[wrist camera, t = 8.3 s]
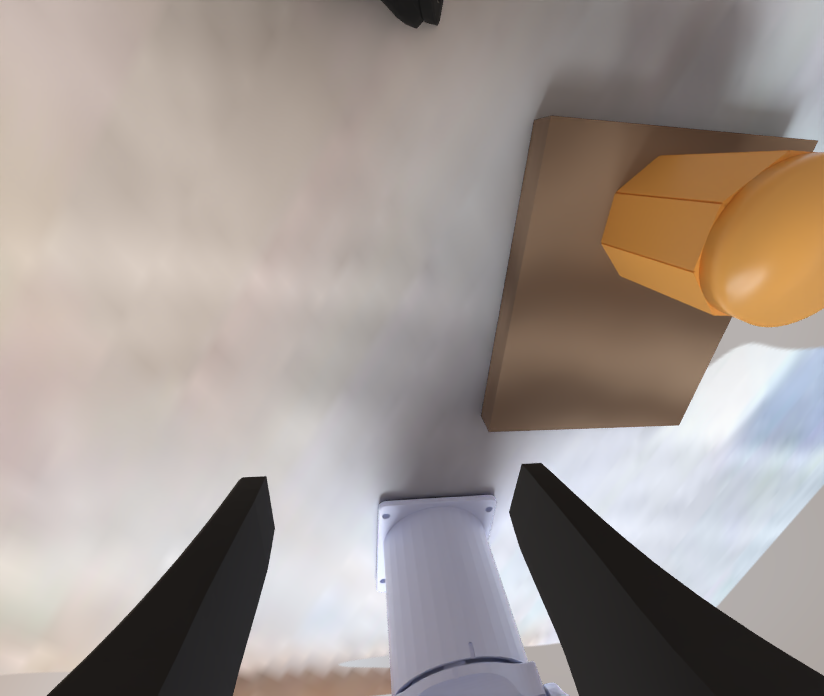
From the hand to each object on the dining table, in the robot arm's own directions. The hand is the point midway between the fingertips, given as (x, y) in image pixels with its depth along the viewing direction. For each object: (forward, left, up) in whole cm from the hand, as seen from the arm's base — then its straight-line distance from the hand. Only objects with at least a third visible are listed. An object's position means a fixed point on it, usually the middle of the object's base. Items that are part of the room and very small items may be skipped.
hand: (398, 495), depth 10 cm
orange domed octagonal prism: (+7, -12, -8) cm, 16 cm away
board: (+3, -12, -9) cm, 16 cm away
